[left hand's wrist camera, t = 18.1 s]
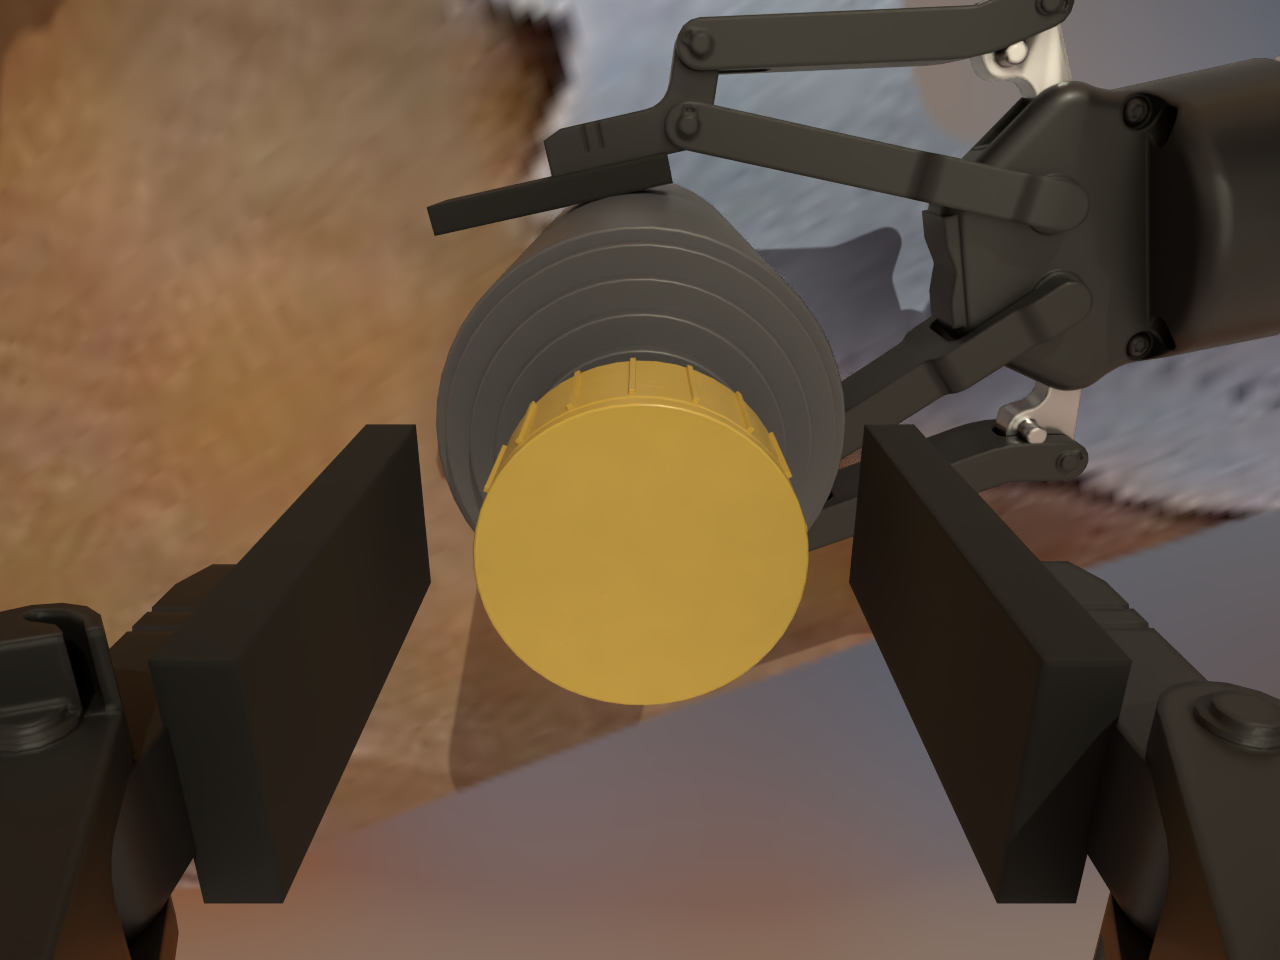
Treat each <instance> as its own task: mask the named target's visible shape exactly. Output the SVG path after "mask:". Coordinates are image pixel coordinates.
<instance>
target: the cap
mask: <svg viewBox="0 0 1280 960" xmlns="http://www.w3.org/2000/svg"><path fill="white" fill-rule="evenodd" d="M791 477H792V474H791V472H790V470H789V467H788V465H787V463H786V461H785V458H784V456H783V454H782V451H781V449H780V447H779V445H778V442H777V440H776V438H775V436H774V434H773V432H771V433H768V431H767V429H766V428H765V426H764V425H763V423H762V422H761V420H760V419H759V417H758V416H757V415H756V413H755V412H754V411H753V410H752V409H751V408H750V407H749V406H748V405H747V404H746V403H745V401H744V400H743V398H742V395H741V393H739V392H738V391H737V392H736V393H734V392H733V391H731V390H730V389H729V388H727V387H726V386H724V385H723V384H721V383H719V382H718V381H716V380H715V379H713V378H711V377H709V376H706V375H704V374H702V373H700V372H698V371H695V370H693V367H692V366H690V365H687V367H682V366H679V365H675V364H669V363H663V362H658V361H636V358H630V361H627V362H617V363H612V364H608V365H603V366H599V367H595V368H593V369H590V370H587V371H585V372H582V373H581V372H580V370H578V371H576V372H575V373H574V376H573V377H571V378H569V379H568V380H566V381H564V382H562V383H560V384H559V385H558V386H556V387H555V388H553V389H552V390H550V391H549V392H548V393H546V394H545V395H544V396H543V397H542V398H541V399H540V400H539V401H538V402H537V403H535V402H534V401H532V402H531V403H530V405H529V407H528V410H527V412H526V415H525V416H524V417H523V418H522V420H521V421H520V423H519V424H518V426H517V428H516V429H515V431H514V432H513V434H512V436H511V438H510V440H509V443H508V445H507V446H505V445H503V446H502V448H501V450H500V453H499V455H498V457H497V460H496V462H495V464H494V467H493V469H492V471H491V473H490V476H489V478H488V480H487V483H486V485H485V487H484V490H483V491H484V492H486V493H487V495H486V497H485V500H484V502H483V504H482V507H481V509H480V513H479V517H478V520H477V524H476V528H475V536H474V544H473V562H474V573H475V578H476V584H477V589H478V592H479V595H480V598H481V601H482V604H483V607H484V609H485V611H486V613H487V615H488V617H489V619H490V621H491V623H492V625H493V626H494V628H495V629H496V631H497V632H498V633H499V635H500V636H501V638H502V639H503V641H504V642H505V643H506V644H507V645H508V647H509V648H510V649H511V650H512V651H513V652H514V653H515V654H516V656H518V657H519V658H520V659H521V660H522V661H523V662H524V663H525V664H527V665H528V666H529V667H530V668H531V669H533V670H534V671H535V672H537V673H538V674H540V675H541V676H543V677H544V678H546V679H547V680H549V681H551V682H553V683H555V684H557V685H558V686H560V687H562V688H564V689H566V690H569V691H571V692H574V693H577V694H579V695H582V696H584V697H588V698H592V699H596V700H600V701H604V702H610V703H617V704H624V705H655V704H667V703H672V702H677V701H682V700H687V699H690V698H693V697H697V696H700V695H703V694H706V693H708V692H711V691H713V690H715V689H717V688H720V687H722V686H724V685H726V684H727V683H729V682H731V681H733V680H734V679H736V678H738V677H739V676H741V675H742V674H744V673H745V672H746V671H748V670H749V669H750V668H752V667H753V666H754V665H756V664H757V663H758V662H759V661H760V660H761V659H762V658H763V657H764V656H765V655H766V654H767V653H768V652H769V651H770V650H771V649H772V648H773V647H774V645H775V644H776V643H777V642H778V640H779V639H780V638H781V637H782V635H783V634H784V632H785V631H786V629H787V627H788V626H789V624H790V622H791V621H792V619H793V617H794V615H795V613H796V610H797V608H798V606H799V603H800V601H801V599H802V595H803V591H804V587H805V584H806V580H807V572H808V564H809V544H808V535H807V531H808V529H807V525H806V522H805V519H804V516H803V513H802V510H801V507H800V504H799V501H798V499H797V496H796V494H795V492H794V489H793V487H792V485H791V482H790V480H789V478H791Z"/></svg>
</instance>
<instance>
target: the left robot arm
mask: <svg viewBox="0 0 1280 960" xmlns="http://www.w3.org/2000/svg"><path fill="white" fill-rule="evenodd" d="M430 583H431V579H430V569H429V558H428V548H427V538H426V527H425V517H424V506H423V496H422V485H421V475H420V464H419V454H418V443H417V433H416V425H365V427H364V428H363V429H362V430H361V431H360V432H359V433H358V434H357V435H356V436H355V437H354V438H353V439H352V441H351V442H350V443H349V444H348V445H347V446H346V447H345V448H344V449H343V450H342V451H341V452H340V454H339V455H338V456H337V457H336V458H335V459H334V460H333V461H332V462H331V463H330V464H329V465H328V466H327V468H326V469H325V470H324V471H323V472H322V473H321V474H320V475H319V476H318V477H317V478H316V479H315V480H314V482H313V483H312V484H311V485H310V486H309V487H308V488H307V489H306V490H305V491H304V492H303V493H302V495H301V496H300V497H299V498H298V499H297V500H296V501H295V502H294V503H293V504H292V505H291V506H290V507H289V509H288V510H287V511H286V512H285V513H284V514H283V515H282V516H281V517H280V518H279V519H278V520H277V522H276V523H275V524H274V525H273V526H272V527H271V528H270V529H269V530H268V531H267V532H266V533H265V534H264V536H263V537H262V538H261V539H260V540H259V541H258V542H257V543H256V544H255V545H254V546H253V547H252V548H251V550H250V551H249V552H248V553H247V554H246V555H245V556H244V557H243V558H242V559H241V560H240V561H239V563H238V564H212V565H210V566H209V567H207V568H205V569H203V570H201V571H199V572H197V573H196V574H194V575H192V576H190V577H188V578H186V579H184V580H182V581H181V582H179V583H177V584H175V585H174V586H173V587H172V588H171V589H170V590H169V591H168V592H167V593H166V594H165V595H164V596H163V597H162V598H161V599H160V600H159V601H158V602H157V603H156V604H155V605H154V606H153V607H152V612H147V613H146V614H145V615H144V616H143V617H142V618H141V619H140V620H139V621H138V622H136V623H135V624H134V625H133V626H132V632H126V633H125V634H124V635H123V636H122V637H121V638H120V639H119V640H118V641H117V642H116V643H115V644H114V645H113V646H112V647H111V648H110V649H109V646H108V642H107V638H106V634H105V630H104V626H103V622H102V618H101V615H100V614H98V613H97V612H95V611H94V610H92V609H90V608H89V607H87V606H81V605H74V604H67V603H55V604H41V605H30V606H25V607H21V608H16V609H11V610H7V611H2V612H0V960H175V955H176V948H177V941H178V926H177V920H176V914H175V910H174V906H173V902H172V898H171V893H172V891H173V890H174V888H175V887H176V885H177V883H178V882H179V880H180V878H181V877H182V875H183V874H184V872H185V870H186V869H187V867H188V865H189V864H190V862H191V861H192V859H193V858H194V862H195V866H196V870H197V875H198V879H199V883H200V888H201V892H202V896H203V900H204V903H283V902H284V900H285V897H286V895H287V893H288V891H289V889H290V887H291V884H292V882H293V880H294V878H295V876H296V874H297V871H298V869H299V867H300V865H301V863H302V861H303V858H304V856H305V854H306V852H307V850H308V848H309V845H310V843H311V841H312V839H313V837H314V835H315V832H316V830H317V828H318V826H319V824H320V822H321V819H322V817H323V815H324V813H325V811H326V809H327V806H328V804H329V802H330V800H331V798H332V796H333V793H334V791H335V789H336V787H337V785H338V783H339V780H340V778H341V776H342V774H343V772H344V770H345V767H346V765H347V763H348V761H349V759H350V757H351V754H352V752H353V750H354V748H355V746H356V744H357V741H358V739H359V737H360V735H361V733H362V731H363V728H364V726H365V724H366V722H367V720H368V718H369V715H370V713H371V711H372V709H373V707H374V705H375V702H376V700H377V698H378V696H379V694H380V692H381V689H382V687H383V685H384V683H385V681H386V679H387V676H388V674H389V672H390V670H391V668H392V666H393V663H394V661H395V659H396V657H397V655H398V653H399V650H400V648H401V646H402V644H403V642H404V640H405V637H406V635H407V633H408V631H409V629H410V627H411V624H412V622H413V620H414V618H415V616H416V614H417V611H418V609H419V607H420V605H421V603H422V601H423V598H424V596H425V594H426V592H427V590H428V588H429V585H430ZM849 583H850V585H851V588H852V590H853V592H854V594H855V596H856V598H857V601H858V603H859V605H860V607H861V609H862V611H863V614H864V616H865V618H866V620H867V622H868V624H869V627H870V629H871V631H872V633H873V635H874V637H875V640H876V642H877V644H878V646H879V648H880V650H881V653H882V655H883V657H884V659H885V661H886V663H887V666H888V668H889V670H890V672H891V674H892V676H893V679H894V681H895V683H896V685H897V687H898V689H899V692H900V694H901V696H902V698H903V700H904V702H905V705H906V707H907V709H908V711H909V713H910V715H911V718H912V720H913V722H914V724H915V726H916V728H917V731H918V733H919V735H920V737H921V739H922V741H923V744H924V746H925V748H926V750H927V752H928V754H929V757H930V759H931V761H932V763H933V765H934V767H935V770H936V772H937V774H938V776H939V778H940V780H941V783H942V785H943V787H944V789H945V791H946V793H947V795H948V798H949V800H950V802H951V804H952V806H953V809H954V811H955V813H956V815H957V817H958V819H959V822H960V824H961V826H962V828H963V830H964V832H965V835H966V837H967V839H968V841H969V843H970V845H971V848H972V850H973V852H974V854H975V856H976V858H977V861H978V863H979V865H980V867H981V869H982V871H983V874H984V876H985V878H986V880H987V882H988V884H989V887H990V889H991V891H992V893H993V895H994V897H995V900H996V902H997V903H1076V900H1077V896H1078V891H1079V888H1080V883H1081V879H1082V875H1083V870H1084V866H1085V862H1086V857H1087V854H1088V856H1089V857H1090V859H1091V861H1092V862H1093V864H1094V866H1095V867H1096V869H1097V870H1098V872H1099V874H1100V875H1101V877H1102V878H1103V880H1104V882H1105V883H1106V885H1107V887H1108V888H1109V890H1110V894H1109V898H1108V902H1107V906H1106V910H1105V914H1104V918H1103V922H1102V926H1101V930H1100V934H1099V938H1098V942H1097V946H1096V950H1095V954H1094V958H1093V960H1280V700H1279V699H1277V698H1274V697H1272V696H1270V695H1267V694H1265V693H1263V692H1260V691H1257V690H1253V689H1249V688H1245V687H1241V686H1237V685H1233V684H1229V683H1223V682H1211V681H1207V680H1206V679H1205V678H1204V677H1203V676H1202V675H1201V674H1200V673H1199V672H1198V671H1197V670H1196V669H1195V668H1194V667H1193V666H1192V665H1191V664H1190V663H1189V662H1188V661H1187V660H1186V659H1185V658H1184V657H1183V656H1182V655H1181V654H1180V653H1179V652H1178V651H1177V650H1175V649H1174V648H1173V647H1172V646H1171V645H1170V644H1169V643H1168V642H1167V641H1166V640H1165V639H1164V638H1163V637H1162V636H1161V635H1160V634H1159V633H1158V632H1157V631H1156V630H1155V629H1154V628H1149V626H1148V622H1147V621H1146V620H1145V619H1144V618H1143V617H1142V616H1140V615H1139V614H1138V613H1137V612H1136V611H1135V610H1134V609H1129V604H1128V603H1127V602H1126V601H1125V600H1124V599H1123V598H1122V597H1121V596H1120V595H1119V594H1118V593H1117V592H1116V591H1115V590H1114V589H1113V588H1112V587H1111V586H1110V585H1109V584H1108V583H1107V582H1106V581H1104V580H1102V579H1100V578H1098V577H1096V576H1095V575H1093V574H1091V573H1089V572H1087V571H1085V570H1083V569H1081V568H1080V567H1078V566H1076V565H1074V564H1072V563H1070V562H1068V561H1040V560H1039V559H1038V558H1037V557H1036V556H1035V555H1034V554H1033V553H1032V552H1031V551H1030V550H1029V548H1028V547H1027V546H1026V545H1025V544H1024V543H1023V542H1022V541H1021V540H1020V539H1019V538H1018V537H1017V536H1016V534H1015V533H1014V532H1013V531H1012V530H1011V529H1010V528H1009V527H1008V526H1007V525H1006V524H1005V523H1004V522H1003V520H1002V519H1001V518H1000V517H999V516H998V515H997V514H996V513H995V512H994V511H993V510H992V509H991V507H990V506H989V505H988V504H987V503H986V502H985V501H984V500H983V499H982V498H981V497H980V496H979V495H978V493H977V492H976V491H975V490H974V489H973V488H972V487H971V486H970V485H969V484H968V483H967V482H966V480H965V479H964V478H963V477H962V476H961V475H960V474H959V473H958V472H957V471H956V470H955V469H954V468H953V466H952V465H951V464H950V463H949V462H948V461H947V460H946V459H945V458H944V457H943V456H942V455H941V454H940V452H939V451H938V450H937V449H936V448H935V447H934V446H933V445H932V444H931V443H930V442H929V441H928V439H927V438H926V437H925V436H924V435H923V434H922V433H921V432H920V431H919V430H918V429H917V428H916V427H915V425H864V433H863V443H862V454H861V464H860V475H859V485H858V496H857V506H856V517H855V527H854V538H853V548H852V558H851V569H850V579H849Z"/></svg>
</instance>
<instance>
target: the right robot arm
mask: <svg viewBox="0 0 1280 960" xmlns="http://www.w3.org/2000/svg"><path fill="white" fill-rule="evenodd" d="M1073 4H1074V0H983V1H981V2H979V3H976V4H974V5H967V6H944V7H922V8H899V9H876V10H854V11H831V12H808V13H786V14H763V15H740V16H717V17H699V18H696V19H692V20H690V21H689V22H687V23H686V24H685V25H684V26H683V27H682V29H681V31H680V32H679V34H678V36H677V39H676V41H675V45H674V51H673V58H672V66H671V73H670V80H669V86H668V89H667V92H666V94H665V96H664V98H663V99H662V100H661V101H660V102H659V103H658V104H657V105H655V106H654V107H651V108H649V109H646V110H641V111H637V112H632V113H628V114H624V115H619V116H615V117H611V118H606V119H602V120H598V121H593V122H589V123H584V124H580V125H576V126H571V127H567V128H562V129H560V130H558V131H557V132H555V133H554V134H553V135H551V136H550V137H549V138H547V139H546V140H545V141H544V145H545V149H546V153H547V158H548V162H549V166H550V170H551V175H552V176H551V177H547V178H542V179H538V180H533V181H529V182H524V183H520V184H515V185H511V186H507V187H502V188H498V189H493V190H489V191H484V192H480V193H475V194H471V195H466V196H462V197H458V198H453V199H449V200H445V201H443V202H440V203H437V204H434V205H432V206H429V207H427V211H428V214H429V217H430V221H431V224H432V228H433V231H434V235H435V236H436V235H441V234H445V233H450V232H454V231H459V230H464V229H468V228H473V227H477V226H482V225H486V224H491V223H495V222H500V221H504V220H509V219H513V218H518V217H522V216H527V215H531V214H536V213H540V212H545V211H549V210H554V209H558V208H563V207H567V206H572V205H576V204H581V203H585V202H590V201H594V200H599V199H603V198H607V197H612V196H617V195H621V194H626V193H630V192H635V191H639V190H644V189H648V188H653V187H657V186H662V185H666V184H671V183H673V182H672V177H671V171H670V166H669V161H668V155H667V154H671V153H676V152H680V151H684V150H688V151H692V152H697V153H702V154H706V155H711V156H715V157H720V158H725V159H729V160H734V161H739V162H743V163H748V164H752V165H757V166H762V167H766V168H771V169H775V170H780V171H785V172H789V173H794V174H798V175H803V176H808V177H812V178H817V179H822V180H826V181H831V182H835V183H840V184H845V185H849V186H854V187H858V188H863V189H868V190H872V191H877V192H881V193H886V194H891V195H895V196H900V197H905V198H909V199H914V200H918V201H922V202H927V203H929V207H928V210H925V211H922V216H923V227H924V237H925V240H926V243H927V245H928V248H929V250H930V253H931V256H932V258H933V261H934V266H933V272H932V278H931V284H930V290H929V291H930V302H931V312H932V315H933V316H932V317H930V318H929V319H927V320H925V321H924V322H922V323H921V324H919V325H918V326H916V327H915V328H913V329H912V330H911V331H909V332H908V333H907V334H906V336H905V337H904V339H903V341H902V342H901V343H900V344H898V345H897V346H895V347H894V348H892V349H891V350H889V351H888V352H886V353H885V354H883V355H882V356H880V357H879V358H877V359H876V360H874V361H872V362H871V363H869V364H868V365H866V366H865V367H863V368H862V369H860V370H859V371H857V372H856V373H854V374H853V375H851V376H849V377H848V378H846V379H845V380H843V381H842V382H841V384H842V389H843V394H844V408H845V431H844V445H843V450H842V455H841V460H842V459H843V458H845V457H847V456H848V455H850V454H851V453H853V452H855V451H856V450H858V449H859V448H861V447H862V443H863V433H864V425H897V424H899V423H900V422H902V421H904V420H905V419H907V418H908V417H910V416H912V415H913V414H915V413H916V412H918V411H920V410H921V409H923V408H924V407H926V406H927V405H929V404H931V403H932V402H934V401H935V400H937V399H939V398H940V397H942V396H944V395H947V394H952V393H958V392H961V391H964V390H966V389H967V388H969V387H971V386H973V385H974V384H976V383H977V382H979V381H980V380H982V379H984V378H985V377H987V376H988V375H990V374H992V373H993V372H995V371H996V370H998V369H1000V368H1001V367H1003V366H1005V367H1008V368H1010V369H1012V370H1014V371H1016V372H1018V373H1020V374H1023V375H1025V376H1027V377H1029V378H1031V379H1033V380H1036V384H1035V387H1034V389H1033V390H1032V392H1031V393H1030V394H1029V395H1028V396H1027V397H1025V398H1024V399H1022V400H1019V401H1015V402H1012V403H1009V404H1006V405H1004V406H1002V407H1001V408H1000V409H999V411H998V416H997V419H993V420H983V421H978V422H973V423H969V424H966V425H962V426H959V427H956V428H953V429H950V430H947V431H945V432H942V433H939V434H936V435H934V436H931V437H928V438H927V439H928V441H929V442H930V443H931V444H932V445H933V446H934V447H935V448H936V449H937V450H938V451H939V452H940V454H941V455H942V456H943V457H944V458H945V459H946V460H947V461H948V462H949V463H950V464H951V465H952V466H953V468H954V469H955V470H956V471H957V472H958V473H959V474H960V475H961V476H962V477H963V478H964V479H965V480H966V482H967V483H968V484H969V485H970V486H971V487H972V488H973V489H974V490H975V491H976V492H977V493H978V492H981V491H984V490H987V489H990V488H993V487H996V486H999V485H1001V484H1004V483H1007V482H1023V481H1060V480H1069V479H1073V478H1075V477H1077V476H1078V475H1080V474H1081V473H1082V472H1083V471H1084V469H1085V468H1086V466H1087V463H1088V453H1087V451H1086V449H1085V448H1084V447H1083V446H1082V445H1080V444H1079V443H1077V442H1076V441H1075V440H1074V435H1075V429H1076V423H1077V416H1078V410H1079V403H1080V397H1081V390H1082V389H1083V388H1085V387H1088V386H1090V385H1092V384H1093V383H1095V382H1096V381H1098V380H1099V379H1100V378H1102V377H1103V376H1104V375H1106V374H1107V373H1109V372H1110V371H1112V370H1114V369H1116V368H1118V367H1120V366H1122V365H1124V364H1127V363H1131V362H1136V361H1143V360H1150V359H1157V358H1163V357H1169V356H1174V355H1179V354H1184V353H1189V352H1194V351H1199V350H1204V349H1209V348H1214V347H1219V346H1224V345H1229V344H1234V343H1239V342H1244V341H1249V340H1254V339H1259V338H1264V337H1269V336H1274V335H1278V334H1280V56H1278V57H1277V58H1275V59H1274V60H1273V59H1268V58H1254V59H1249V60H1245V61H1240V62H1236V63H1231V64H1227V65H1222V66H1218V67H1213V68H1208V69H1204V70H1199V71H1195V72H1191V73H1186V74H1181V75H1177V76H1172V77H1168V78H1163V79H1158V80H1154V81H1149V82H1145V83H1141V84H1136V85H1132V86H1127V87H1122V88H1118V89H1112V90H1106V89H1101V88H1097V87H1094V86H1092V85H1089V84H1087V83H1084V82H1078V81H1073V80H1072V75H1071V71H1070V66H1069V61H1068V57H1067V52H1066V47H1065V43H1064V38H1063V33H1062V28H1061V24H1060V23H1062V22H1063V21H1064V20H1065V19H1066V18H1067V16H1068V15H1069V14H1070V13H1071V10H1072V7H1073ZM967 58H970V61H971V65H972V68H973V70H974V72H975V73H976V75H977V76H978V77H980V78H981V79H983V80H987V81H995V80H1002V79H1003V80H1008V81H1011V82H1013V83H1014V84H1016V86H1017V87H1018V88H1019V89H1020V92H1021V94H1022V97H1021V98H1020V100H1018V102H1017V103H1016V104H1015V105H1014V106H1013V107H1012V108H1011V109H1010V110H1009V111H1008V112H1007V113H1006V114H1005V115H1004V116H1003V117H1002V118H1001V119H1000V120H999V121H998V122H997V123H996V124H995V125H994V126H993V127H992V128H991V129H990V130H989V131H988V132H987V133H986V134H985V135H984V136H983V137H982V138H981V139H980V140H979V141H978V142H977V144H976V145H975V146H974V147H973V148H972V149H971V150H970V151H969V152H968V153H967V154H966V155H965V156H964V157H963V158H962V159H959V158H955V157H950V156H945V155H941V154H935V153H930V152H924V151H919V150H915V149H910V148H906V147H901V146H897V145H892V144H888V143H883V142H879V141H874V140H870V139H865V138H861V137H856V136H851V135H847V134H842V133H838V132H833V131H829V130H824V129H820V128H815V127H811V126H806V125H802V124H797V123H793V122H788V121H784V120H779V119H775V118H770V117H766V116H761V115H757V114H752V113H747V112H743V111H738V110H734V109H729V108H725V107H720V106H716V105H714V99H715V93H716V87H717V80H718V75H721V74H744V73H768V72H791V71H814V70H837V69H860V68H884V67H907V66H927V65H936V64H944V63H949V62H953V61H958V60H963V59H967ZM860 464H861V462H858V463H856V464H853V465H850V466H847V467H845V468H842V469H839V470H838V472H837V475H836V478H835V481H834V484H833V486H832V489H831V492H830V494H829V496H828V498H827V500H826V502H825V504H824V506H823V508H822V510H821V512H820V514H819V516H818V517H817V519H816V520H815V522H814V523H813V525H812V526H811V527H810V529H809V530H808V532H807V535H808V544H809V551H812V550H815V549H818V548H821V547H824V546H827V545H829V544H832V543H835V542H838V541H841V540H844V539H847V538H849V537H852V536H854V527H855V517H856V506H857V496H858V485H859V475H860Z"/></svg>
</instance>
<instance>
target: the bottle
mask: <svg viewBox="0 0 1280 960" xmlns="http://www.w3.org/2000/svg"><path fill="white" fill-rule="evenodd" d="M630 358H636V361H658V362H663V363H669V364H675V365H679V366H682V367H687V365H690V366H692V367H693V370H695V371H698V372H700V373H702V374H704V375H706V376H709V377H711V378H713V379H715V380H716V381H718V382H719V383H721V384H723V385H724V386H726V387H727V388H729V389H730V390H731V391H733V392H734V393H736V392H737V391H738V392H739V393H741V395H742V398H743V400H744V401H745V403H746V404H747V405H748V406H749V407H750V408H751V409H752V410H753V411H754V412H755V413H756V415H757V416H758V417H759V419H760V420H761V422H762V423H763V425H764V426H765V428H766V429H767V431H768V433H771V432H773V434H774V436H775V438H776V440H777V442H778V445H779V447H780V449H781V451H782V454H783V456H784V458H785V461H786V463H787V465H788V467H789V470H790V472H791V474H792V477H791V478H789V480H790V482H791V485H792V487H793V489H794V492H795V494H796V496H797V499H798V501H799V504H800V507H801V510H802V513H803V516H804V519H805V522H806V525H807V529H808V530H809V529H810V527H811V526H812V525H813V523H814V522H815V520H816V519H817V517H818V516H819V514H820V512H821V510H822V508H823V506H824V504H825V502H826V500H827V498H828V496H829V494H830V492H831V489H832V486H833V484H834V481H835V478H836V475H837V472H838V469H839V464H840V460H841V455H842V450H843V445H844V431H845V408H844V394H843V389H842V384H841V379H840V375H839V370H838V366H837V364H836V361H835V358H834V355H833V353H832V350H831V347H830V344H829V342H828V340H827V338H826V337H825V335H824V333H823V331H822V329H821V327H820V325H819V323H818V322H817V320H816V318H815V317H814V316H813V314H812V313H811V311H810V310H809V309H808V307H807V306H806V305H805V303H804V302H803V300H802V299H801V298H800V297H799V296H798V295H797V293H796V292H795V291H794V290H793V289H792V288H791V287H790V286H789V285H788V284H787V283H786V282H785V281H784V280H783V279H782V278H781V277H780V276H779V275H778V274H777V272H776V271H775V270H774V269H773V268H772V267H771V266H770V265H769V264H768V263H767V262H766V261H765V260H764V259H763V258H762V257H761V256H760V255H759V254H758V253H757V251H756V250H755V249H754V248H753V247H752V246H751V245H750V244H749V243H748V242H747V241H746V240H745V239H744V238H743V237H742V236H741V235H740V234H739V233H738V231H737V230H736V229H735V228H734V227H733V226H732V225H731V224H730V223H729V222H728V221H727V220H726V219H725V218H724V217H723V216H722V215H721V214H720V213H719V212H718V211H717V210H716V209H715V207H713V206H712V205H711V204H710V203H708V202H707V201H706V200H704V199H703V198H702V197H700V196H698V195H697V194H695V193H693V192H692V191H690V190H688V189H685V188H683V187H680V186H678V185H676V184H672V183H671V184H666V185H662V186H657V187H653V188H648V189H644V190H639V191H635V192H630V193H626V194H621V195H617V196H612V197H607V198H603V199H599V200H594V201H590V202H585V203H581V204H576V205H572V206H568V207H567V208H565V209H564V210H563V211H562V212H561V213H560V214H559V216H558V217H557V218H556V219H555V220H554V221H553V222H552V223H551V224H550V225H549V226H548V227H547V228H546V229H545V230H544V231H543V232H542V233H541V235H540V236H539V237H538V238H537V239H536V240H535V241H534V242H533V243H532V244H531V245H530V246H529V247H528V248H527V249H526V250H525V251H524V253H523V254H522V255H521V256H520V257H519V258H518V259H517V260H516V261H515V262H514V263H513V264H512V265H511V266H510V267H509V268H508V269H507V271H506V272H505V273H504V274H503V275H502V276H501V277H500V278H499V279H498V280H497V281H496V282H495V283H494V284H493V285H492V287H491V288H490V289H489V290H488V291H487V292H486V293H485V294H484V296H483V297H482V298H481V299H480V300H479V301H478V302H477V303H476V305H475V306H474V308H473V309H472V311H471V312H470V314H469V315H468V317H467V318H466V320H465V321H464V323H463V324H462V326H461V328H460V330H459V332H458V334H457V336H456V338H455V340H454V342H453V344H452V346H451V348H450V350H449V353H448V357H447V360H446V363H445V366H444V369H443V372H442V375H441V381H440V387H439V393H438V398H437V420H436V428H437V438H438V447H439V454H440V458H441V462H442V466H443V470H444V474H445V477H446V480H447V482H448V485H449V488H450V490H451V493H452V495H453V498H454V500H455V502H456V504H457V505H458V507H459V509H460V511H461V513H462V514H463V516H464V518H465V520H466V522H467V523H468V524H469V526H470V527H471V528H472V530H473V531H474V532H475V528H476V524H477V520H478V517H479V513H480V509H481V507H482V504H483V502H484V500H485V497H486V495H487V493H486V492H484V491H483V490H484V487H485V485H486V483H487V480H488V478H489V476H490V473H491V471H492V469H493V467H494V464H495V462H496V460H497V457H498V455H499V453H500V450H501V448H502V446H503V445H505V446H507V445H508V443H509V440H510V438H511V436H512V434H513V432H514V431H515V429H516V428H517V426H518V424H519V423H520V421H521V420H522V418H523V417H524V416H525V415H526V412H527V410H528V407H529V405H530V403H531V402H532V401H534V402H535V403H537V402H538V401H539V400H540V399H541V398H542V397H543V396H544V395H545V394H546V393H548V392H549V391H550V390H552V389H553V388H555V387H556V386H558V385H559V384H560V383H562V382H564V381H566V380H568V379H569V378H571V377H573V376H574V373H575V372H576V371H578V370H580V372H581V373H582V372H585V371H587V370H590V369H593V368H595V367H599V366H603V365H608V364H612V363H617V362H627V361H630ZM807 532H808V531H807Z"/></svg>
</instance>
